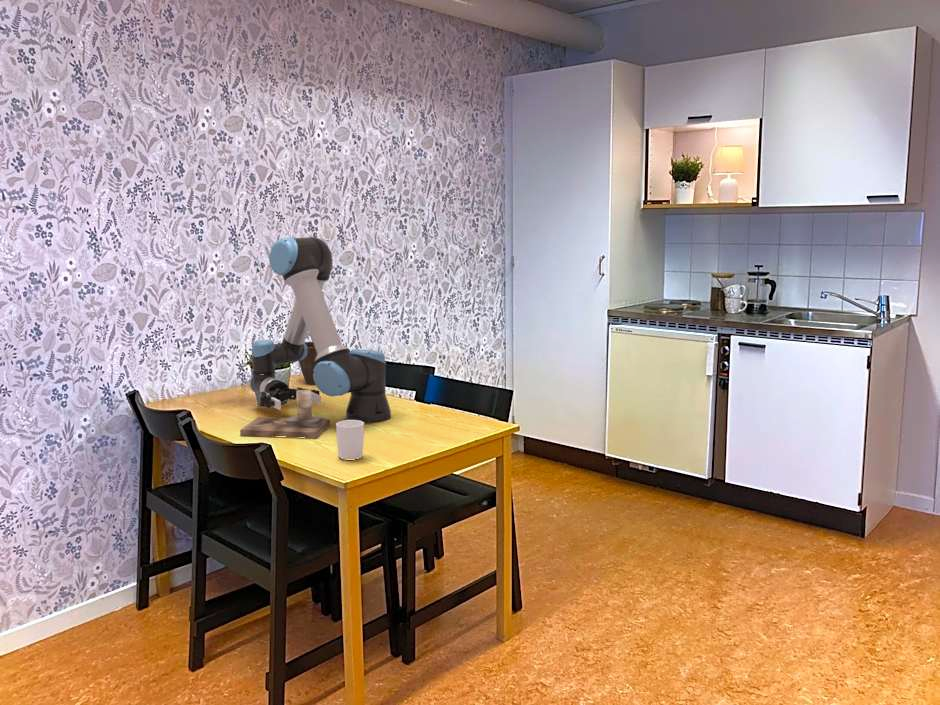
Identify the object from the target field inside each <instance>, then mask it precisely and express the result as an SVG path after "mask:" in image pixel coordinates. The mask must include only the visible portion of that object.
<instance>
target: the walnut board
mask: <svg viewBox="0 0 940 705" xmlns="http://www.w3.org/2000/svg"><path fill="white" fill-rule="evenodd" d="M289 418H290V417H270V416H258V417H256V418H255V419H253V420H252V421H251V422H249V423H248V424H246V425H245V426H243V427H242V428H241V429H240V430H239V434H240V437H255V438H257V437H259V438H276V437H275V436H286V437H305V438H317V437H318V436H319V435H320V434H321V433H322V432H323V431H324V430H325V431H326V430H327V429H328V428H329V427H330V426H331V419H330V418H328V419H327V418H323V424H321V425H320V426H319V427H318V428H299V427H286V421H287V420H288V419H289ZM325 431H324V432H325ZM324 432H323V433H324ZM323 433H322V434H323ZM322 434H321V435H322ZM321 435H320V436H321ZM272 436H273V437H272ZM320 436H319V437H320ZM319 437H318V438H319ZM305 438H304V439H305ZM318 438H317V439H318Z"/></svg>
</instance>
